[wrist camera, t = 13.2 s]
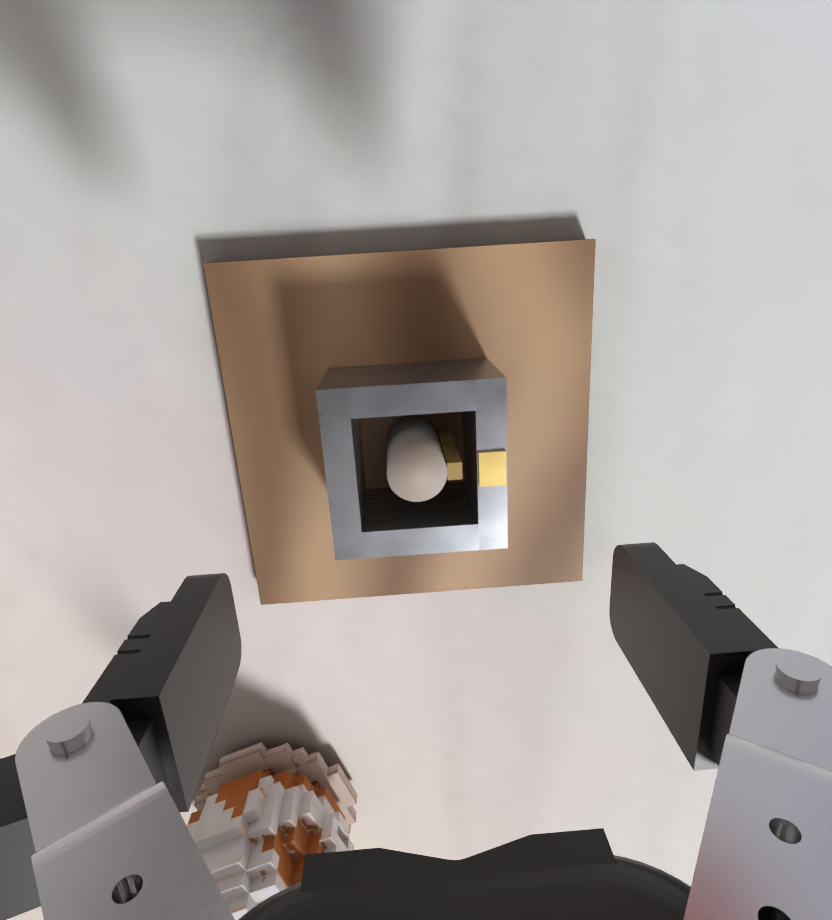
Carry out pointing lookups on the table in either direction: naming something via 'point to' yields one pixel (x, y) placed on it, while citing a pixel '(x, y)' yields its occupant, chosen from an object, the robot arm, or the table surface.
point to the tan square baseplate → (409, 436)
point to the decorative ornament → (269, 820)
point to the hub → (379, 509)
